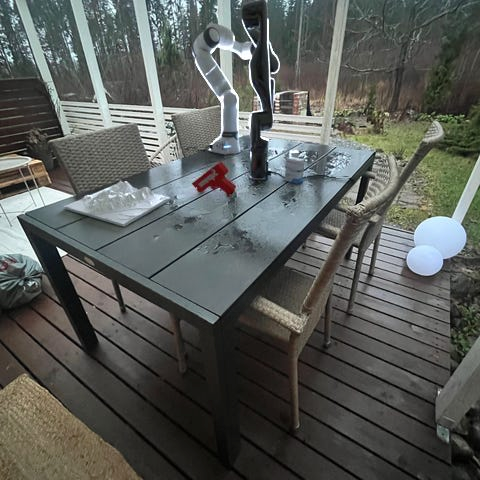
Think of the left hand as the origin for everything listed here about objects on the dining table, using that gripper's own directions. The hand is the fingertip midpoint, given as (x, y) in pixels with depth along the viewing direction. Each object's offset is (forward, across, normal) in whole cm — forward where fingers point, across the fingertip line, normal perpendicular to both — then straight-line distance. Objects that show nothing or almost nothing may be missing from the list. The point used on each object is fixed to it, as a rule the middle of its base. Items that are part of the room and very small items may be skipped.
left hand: (261, 86), depth 203 cm
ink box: (+39, +96, +3) cm, 104 cm away
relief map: (+39, +116, -82) cm, 147 cm away
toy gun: (+39, +108, -39) cm, 121 cm away
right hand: (+20, +58, -6) cm, 61 cm away
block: (+39, +56, +14) cm, 69 cm away
